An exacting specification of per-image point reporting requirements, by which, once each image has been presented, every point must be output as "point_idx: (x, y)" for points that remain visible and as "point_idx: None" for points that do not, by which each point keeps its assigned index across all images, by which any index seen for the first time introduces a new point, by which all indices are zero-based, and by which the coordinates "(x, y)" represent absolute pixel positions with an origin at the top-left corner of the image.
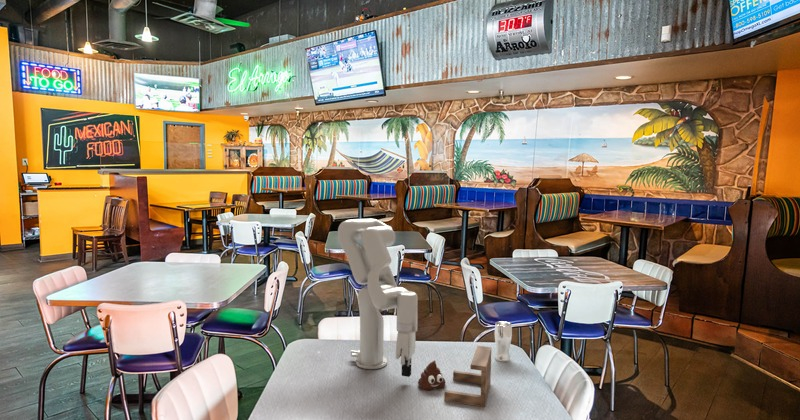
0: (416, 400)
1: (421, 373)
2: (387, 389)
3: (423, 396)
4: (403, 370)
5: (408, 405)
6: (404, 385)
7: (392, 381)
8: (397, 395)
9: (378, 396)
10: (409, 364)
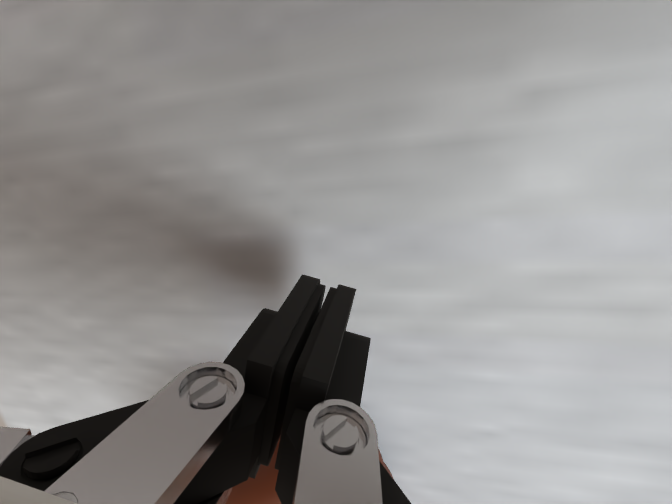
0: (80, 343)
1: (273, 489)
2: (159, 109)
3: (145, 387)
4: (243, 337)
5: (2, 294)
6: (277, 268)
7: (346, 142)
8: (91, 215)
9: (4, 35)
10: (222, 491)
